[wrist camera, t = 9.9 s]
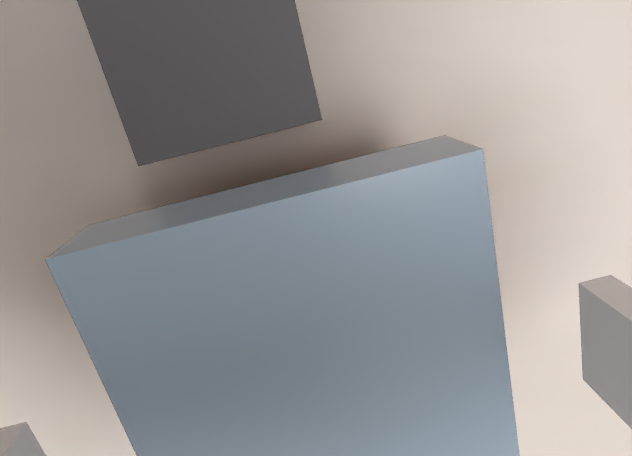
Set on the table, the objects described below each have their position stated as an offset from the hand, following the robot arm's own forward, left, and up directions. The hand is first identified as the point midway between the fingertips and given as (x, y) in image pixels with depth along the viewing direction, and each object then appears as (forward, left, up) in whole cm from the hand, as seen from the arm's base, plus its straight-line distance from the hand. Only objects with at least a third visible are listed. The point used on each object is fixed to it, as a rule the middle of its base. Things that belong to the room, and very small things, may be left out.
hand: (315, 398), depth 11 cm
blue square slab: (0, 0, -3) cm, 3 cm away
